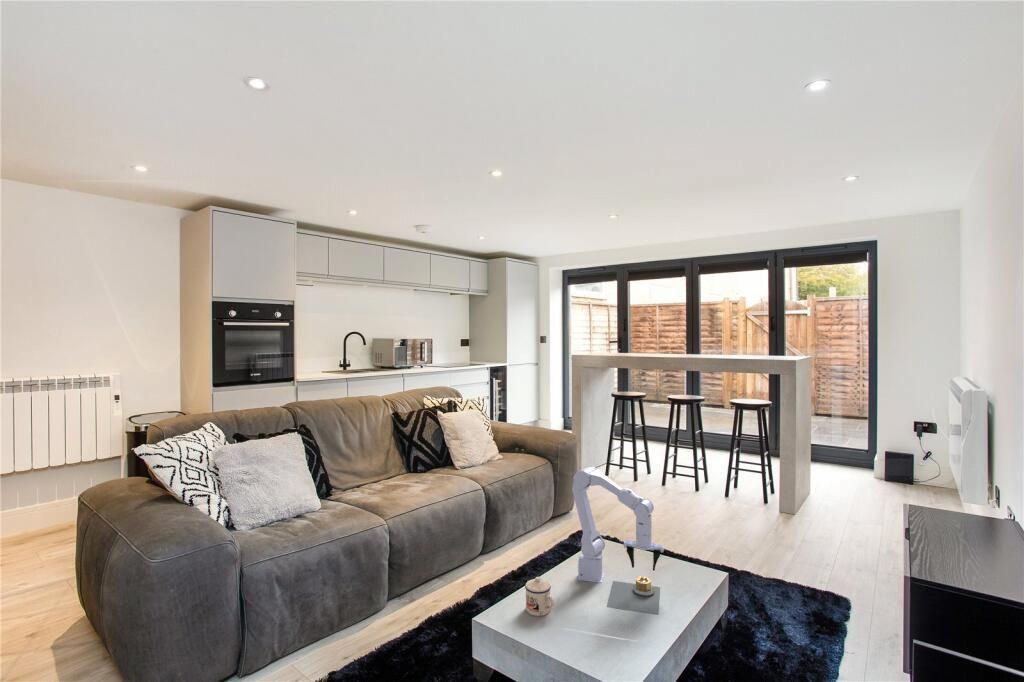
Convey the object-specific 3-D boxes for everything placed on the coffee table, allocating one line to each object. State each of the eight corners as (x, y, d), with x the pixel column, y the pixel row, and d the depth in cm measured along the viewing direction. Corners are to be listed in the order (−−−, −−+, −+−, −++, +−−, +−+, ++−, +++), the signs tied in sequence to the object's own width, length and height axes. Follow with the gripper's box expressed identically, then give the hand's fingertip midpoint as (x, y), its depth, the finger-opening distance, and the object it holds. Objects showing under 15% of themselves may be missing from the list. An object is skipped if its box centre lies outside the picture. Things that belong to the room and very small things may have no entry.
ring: (635, 590, 197) (635, 582, 197) (636, 583, 202) (636, 575, 202) (650, 592, 195) (650, 584, 195) (650, 585, 200) (651, 577, 200)
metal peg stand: (631, 595, 196) (631, 584, 196) (633, 584, 204) (633, 574, 204) (653, 598, 194) (653, 587, 194) (654, 587, 201) (654, 577, 201)
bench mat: (606, 607, 188) (606, 606, 188) (613, 581, 207) (613, 580, 207) (658, 616, 183) (658, 614, 183) (660, 588, 202) (660, 587, 202)
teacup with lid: (520, 609, 188) (519, 577, 187) (538, 600, 194) (537, 569, 193) (544, 623, 179) (543, 589, 178) (562, 613, 185) (562, 581, 184)
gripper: (623, 534, 196) (622, 570, 197) (663, 539, 192) (663, 575, 193) (624, 527, 203) (624, 561, 204) (663, 531, 199) (663, 566, 199)
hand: (643, 567), depth 199 cm, fingers open, 7 cm apart
